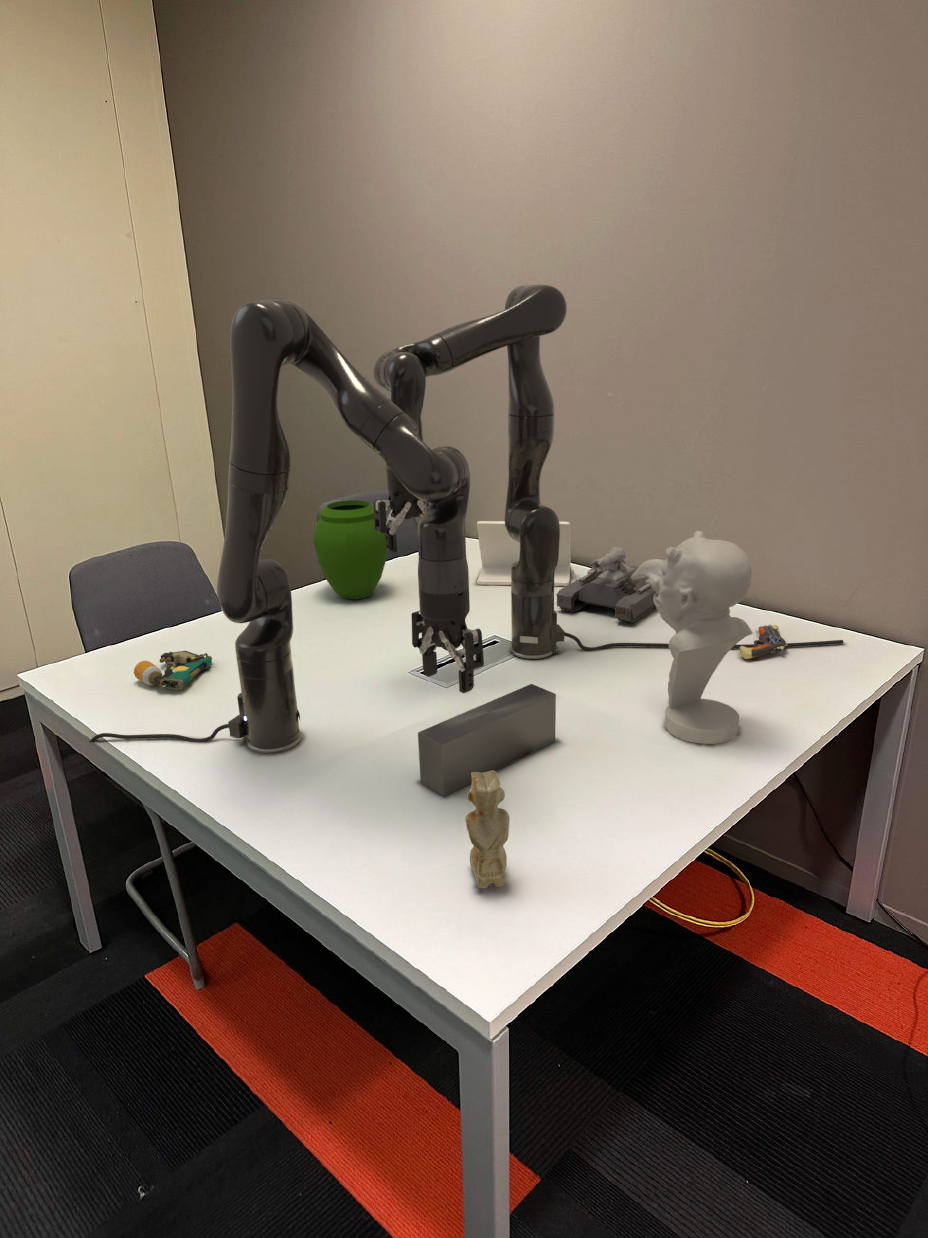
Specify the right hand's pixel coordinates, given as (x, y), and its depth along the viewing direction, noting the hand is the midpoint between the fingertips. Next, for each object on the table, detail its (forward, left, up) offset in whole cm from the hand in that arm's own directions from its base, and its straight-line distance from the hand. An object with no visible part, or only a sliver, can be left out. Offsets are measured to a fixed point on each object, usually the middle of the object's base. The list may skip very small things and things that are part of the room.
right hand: (412, 547), depth 164 cm
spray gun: (+49, -16, -29) cm, 59 cm away
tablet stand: (-40, -63, -29) cm, 80 cm away
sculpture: (0, +64, -29) cm, 70 cm away
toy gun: (-76, 0, -29) cm, 81 cm away
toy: (-55, -33, -29) cm, 70 cm away
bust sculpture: (-44, +29, -29) cm, 60 cm away
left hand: (0, +39, -11) cm, 40 cm away
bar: (-7, +34, -29) cm, 45 cm away
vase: (+8, -59, -29) cm, 66 cm away
